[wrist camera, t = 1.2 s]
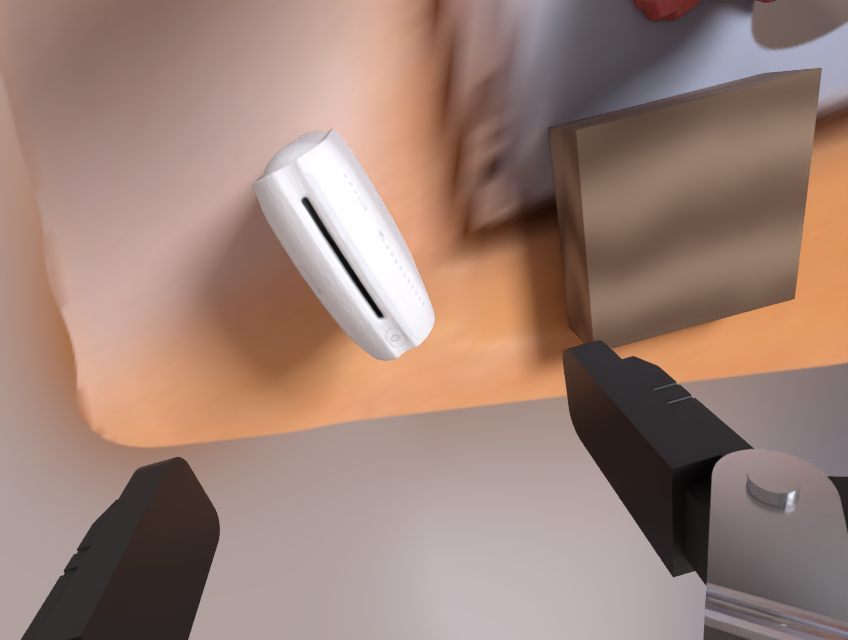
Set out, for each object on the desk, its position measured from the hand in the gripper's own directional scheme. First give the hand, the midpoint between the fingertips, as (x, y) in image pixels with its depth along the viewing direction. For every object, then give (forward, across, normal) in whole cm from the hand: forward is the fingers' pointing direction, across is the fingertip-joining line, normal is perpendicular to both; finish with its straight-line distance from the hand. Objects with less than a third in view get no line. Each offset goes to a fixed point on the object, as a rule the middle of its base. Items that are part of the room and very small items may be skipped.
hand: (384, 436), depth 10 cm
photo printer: (+22, +1, 0) cm, 22 cm away
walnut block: (+22, -19, +5) cm, 30 cm away
